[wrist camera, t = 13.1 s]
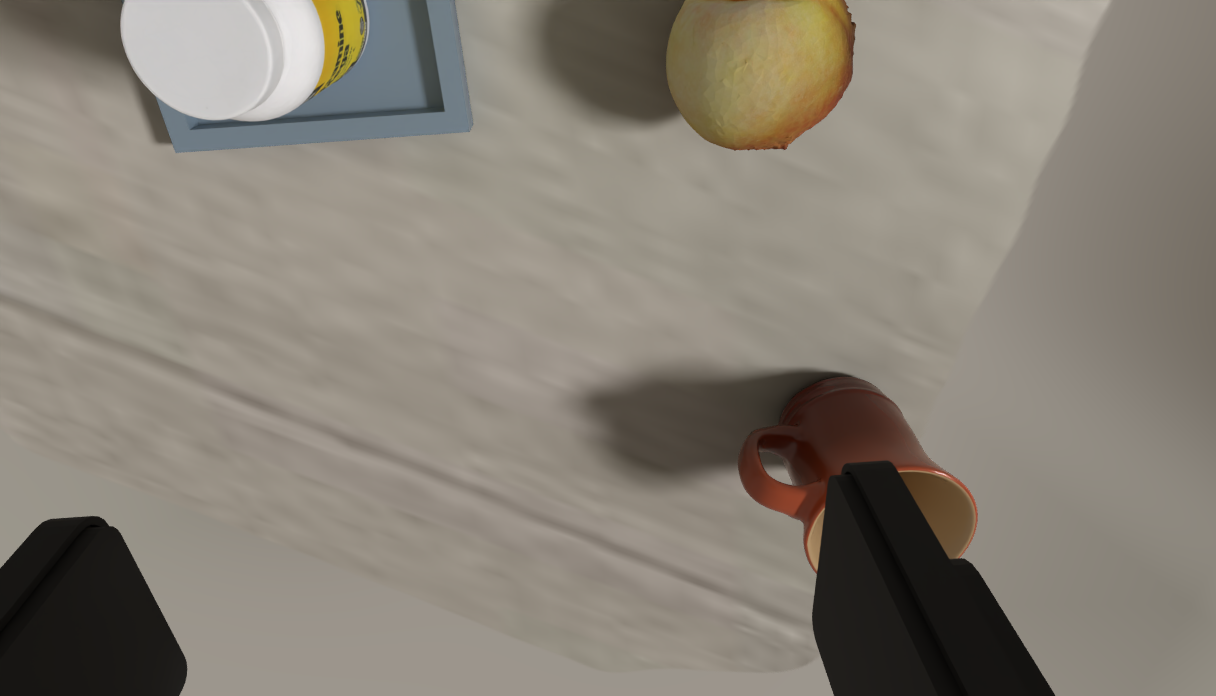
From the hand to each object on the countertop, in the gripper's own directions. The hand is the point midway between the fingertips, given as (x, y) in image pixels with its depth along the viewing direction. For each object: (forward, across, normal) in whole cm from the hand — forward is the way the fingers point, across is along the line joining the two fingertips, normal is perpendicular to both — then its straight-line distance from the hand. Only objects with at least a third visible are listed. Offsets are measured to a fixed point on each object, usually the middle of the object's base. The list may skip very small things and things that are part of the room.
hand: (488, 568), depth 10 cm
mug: (+31, -14, +20) cm, 39 cm away
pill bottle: (+30, +11, -5) cm, 32 cm away
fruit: (+31, -9, -2) cm, 32 cm away
